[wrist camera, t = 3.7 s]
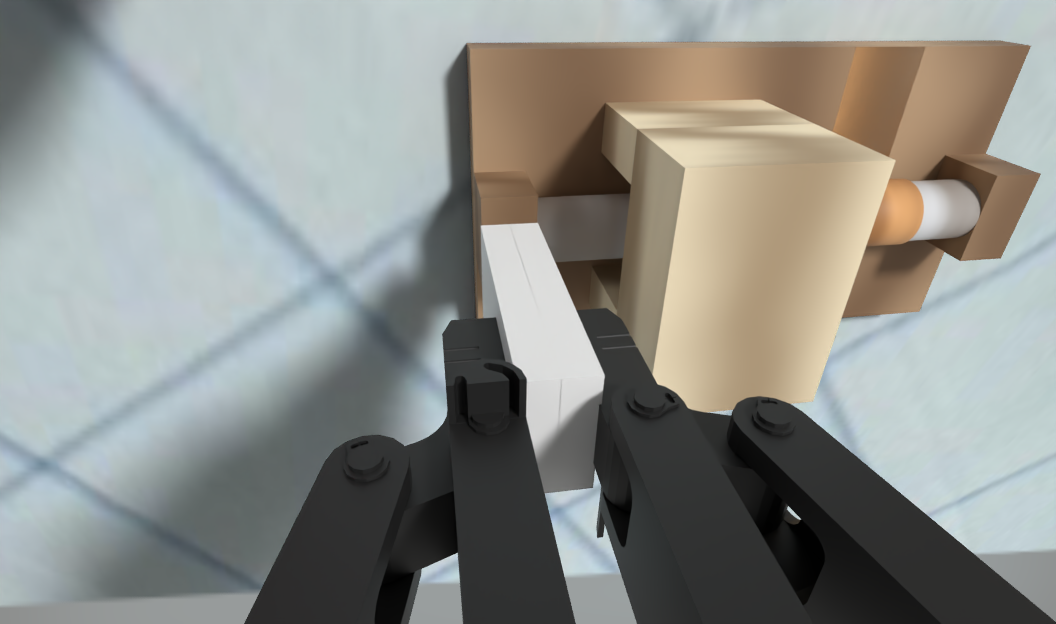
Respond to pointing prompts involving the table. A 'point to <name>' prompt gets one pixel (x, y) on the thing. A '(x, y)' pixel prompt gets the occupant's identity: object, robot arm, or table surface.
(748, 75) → the rail
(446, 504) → the robot arm
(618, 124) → the collar
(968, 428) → the table surface
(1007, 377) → the table surface
